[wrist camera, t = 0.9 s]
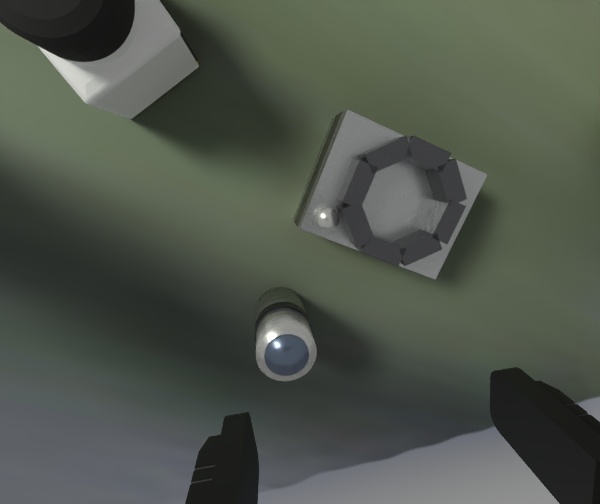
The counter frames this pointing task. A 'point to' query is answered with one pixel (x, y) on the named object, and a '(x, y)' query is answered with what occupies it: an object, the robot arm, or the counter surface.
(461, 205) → the octagon ring plate
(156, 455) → the counter surface
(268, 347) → the lens
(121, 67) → the medicine bottle
